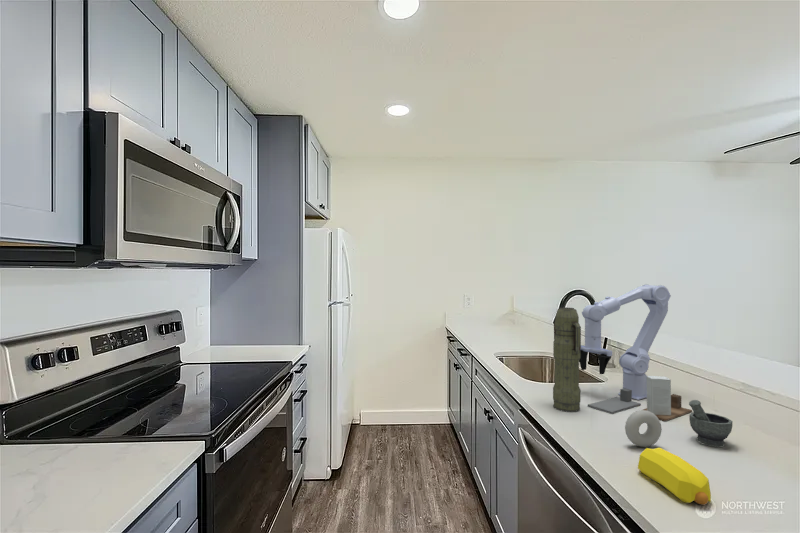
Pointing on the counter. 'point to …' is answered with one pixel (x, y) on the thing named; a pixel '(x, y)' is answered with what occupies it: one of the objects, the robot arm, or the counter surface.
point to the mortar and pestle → (709, 426)
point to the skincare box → (659, 395)
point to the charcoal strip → (616, 402)
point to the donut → (651, 433)
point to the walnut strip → (674, 409)
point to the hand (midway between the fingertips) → (592, 371)
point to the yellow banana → (675, 475)
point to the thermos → (567, 360)
